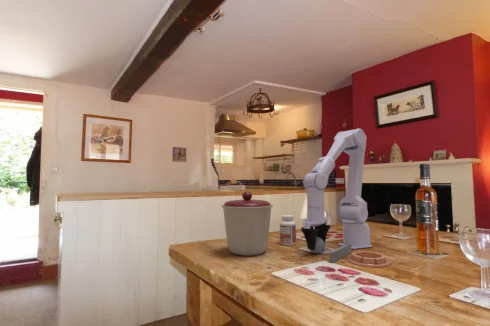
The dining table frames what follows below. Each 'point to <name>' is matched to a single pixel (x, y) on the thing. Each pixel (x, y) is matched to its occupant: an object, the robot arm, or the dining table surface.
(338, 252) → the low wall
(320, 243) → the ball
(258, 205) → the canister
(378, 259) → the bowl
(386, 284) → the dining table surface
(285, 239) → the pill bottle
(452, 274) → the dining table surface
